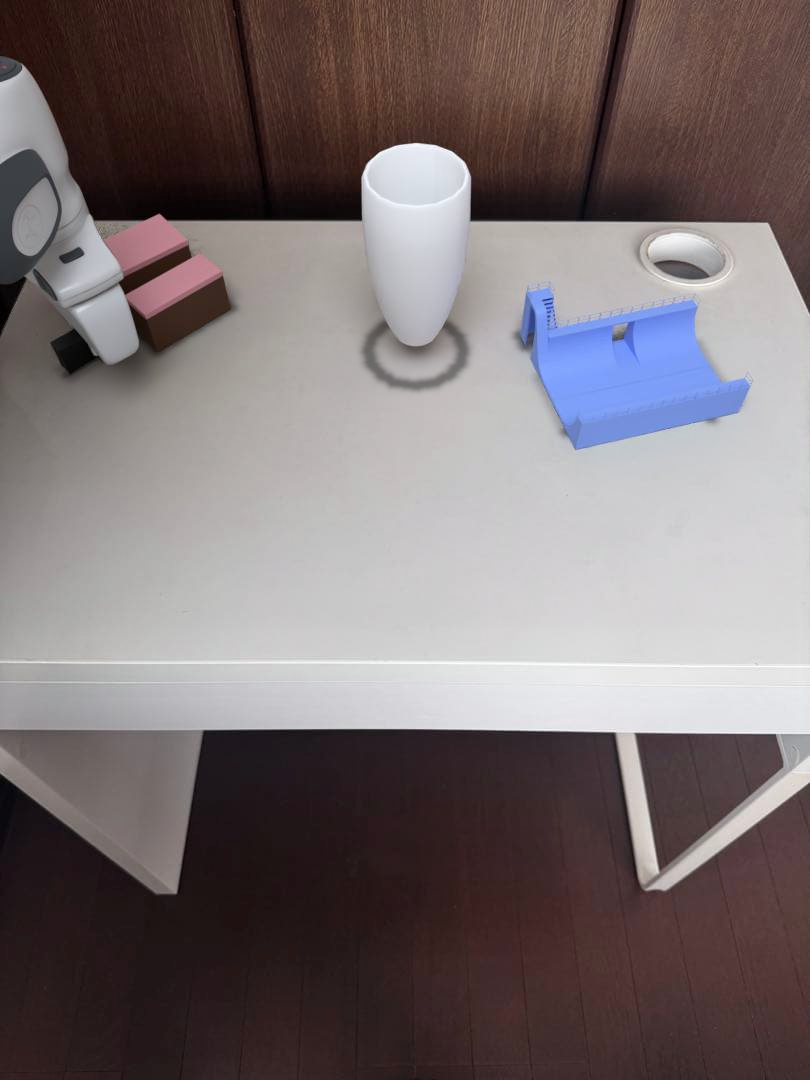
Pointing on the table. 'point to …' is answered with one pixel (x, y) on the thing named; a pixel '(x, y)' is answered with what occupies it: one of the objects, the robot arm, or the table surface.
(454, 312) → the table surface
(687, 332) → the half pipe
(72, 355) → the knife
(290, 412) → the table surface
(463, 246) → the cup
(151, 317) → the cake slice
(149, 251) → the cake
